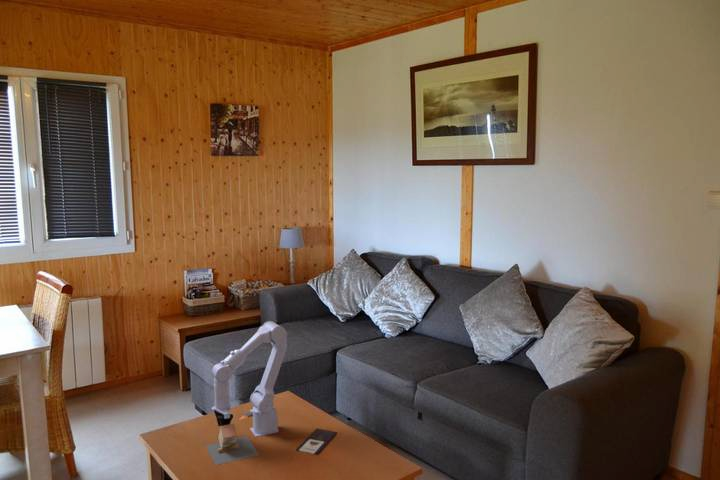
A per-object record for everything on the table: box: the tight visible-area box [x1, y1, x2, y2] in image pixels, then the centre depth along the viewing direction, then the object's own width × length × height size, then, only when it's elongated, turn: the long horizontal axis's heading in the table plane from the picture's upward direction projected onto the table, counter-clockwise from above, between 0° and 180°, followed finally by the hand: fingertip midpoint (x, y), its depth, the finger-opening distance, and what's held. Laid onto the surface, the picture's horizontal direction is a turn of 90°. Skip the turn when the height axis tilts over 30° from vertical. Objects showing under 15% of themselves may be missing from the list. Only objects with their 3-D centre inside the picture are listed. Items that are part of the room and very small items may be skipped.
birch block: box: [217, 423, 238, 448], centre depth 214 cm, size 5×5×8 cm
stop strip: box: [218, 444, 240, 453], centre depth 213 cm, size 8×1×1 cm, turn 117°
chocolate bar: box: [295, 428, 338, 456], centre depth 220 cm, size 9×1×18 cm
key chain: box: [238, 408, 253, 420], centre depth 242 cm, size 13×4×2 cm, turn 152°
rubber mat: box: [205, 436, 260, 466], centre depth 213 cm, size 16×16×1 cm
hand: (223, 429), depth 219 cm, fingers open, 6 cm apart
